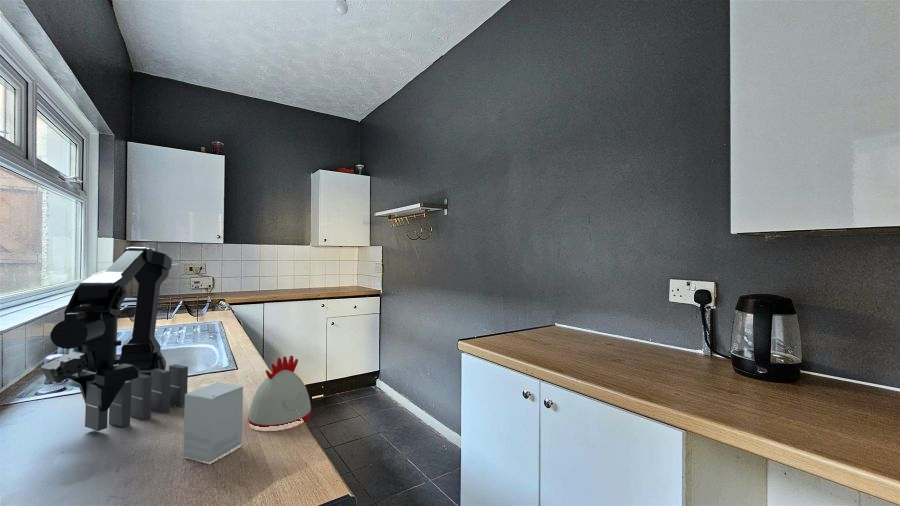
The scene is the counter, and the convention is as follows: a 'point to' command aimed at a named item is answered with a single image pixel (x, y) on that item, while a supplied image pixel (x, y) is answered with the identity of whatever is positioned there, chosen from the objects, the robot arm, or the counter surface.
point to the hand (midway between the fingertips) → (97, 408)
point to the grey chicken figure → (280, 397)
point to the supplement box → (212, 421)
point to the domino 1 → (94, 409)
